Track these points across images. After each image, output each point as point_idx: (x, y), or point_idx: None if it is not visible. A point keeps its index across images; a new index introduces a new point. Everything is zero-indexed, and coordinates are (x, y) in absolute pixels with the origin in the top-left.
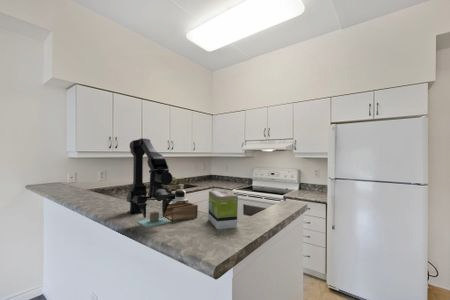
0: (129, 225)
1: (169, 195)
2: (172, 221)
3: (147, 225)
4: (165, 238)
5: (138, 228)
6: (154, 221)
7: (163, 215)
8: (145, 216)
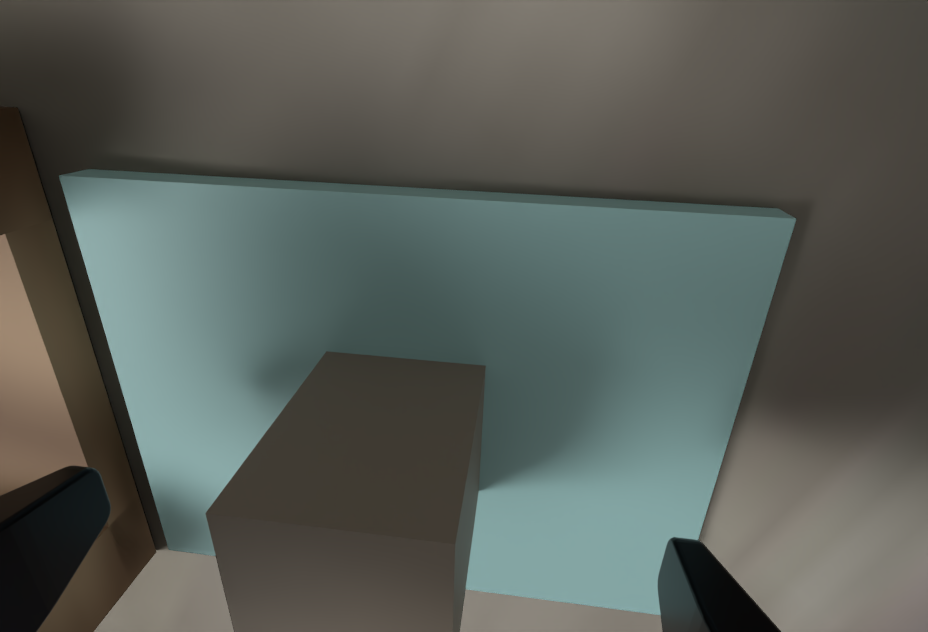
0: (881, 564)
1: None
2: (19, 162)
3: (707, 255)
4: None
5: (924, 285)
6: (431, 371)
7: (114, 560)
8: (701, 566)
